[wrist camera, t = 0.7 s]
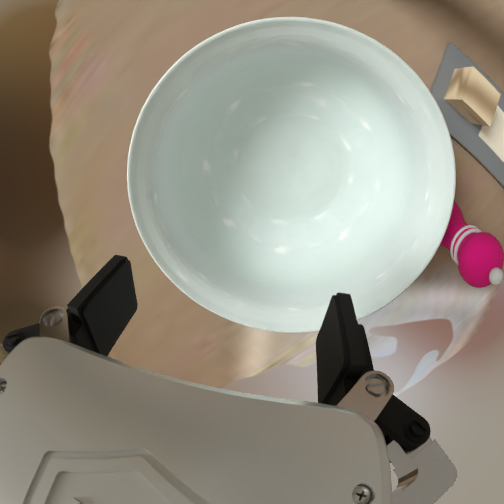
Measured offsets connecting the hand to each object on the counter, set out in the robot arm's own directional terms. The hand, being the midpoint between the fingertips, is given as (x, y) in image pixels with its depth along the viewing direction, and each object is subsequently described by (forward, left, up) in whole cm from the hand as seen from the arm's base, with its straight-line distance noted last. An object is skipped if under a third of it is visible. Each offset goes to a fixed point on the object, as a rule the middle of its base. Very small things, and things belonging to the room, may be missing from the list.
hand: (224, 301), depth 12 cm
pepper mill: (-6, +24, -28) cm, 37 cm away
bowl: (-2, +3, -28) cm, 28 cm away
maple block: (-25, +21, -27) cm, 42 cm away
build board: (-25, +28, -28) cm, 47 cm away
